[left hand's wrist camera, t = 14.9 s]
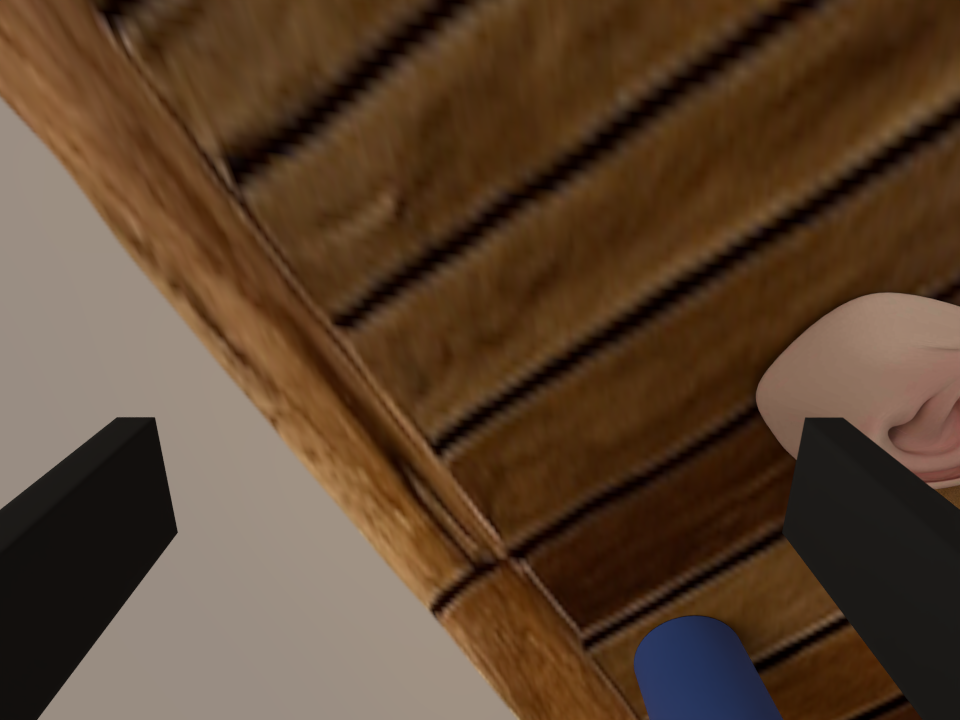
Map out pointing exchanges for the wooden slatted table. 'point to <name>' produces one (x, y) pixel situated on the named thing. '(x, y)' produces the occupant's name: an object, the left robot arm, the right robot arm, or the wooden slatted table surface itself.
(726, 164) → the wooden slatted table surface
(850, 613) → the left robot arm
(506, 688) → the wooden slatted table surface
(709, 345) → the wooden slatted table surface
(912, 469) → the anatomical model
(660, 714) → the blue cylinder
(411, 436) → the wooden slatted table surface
